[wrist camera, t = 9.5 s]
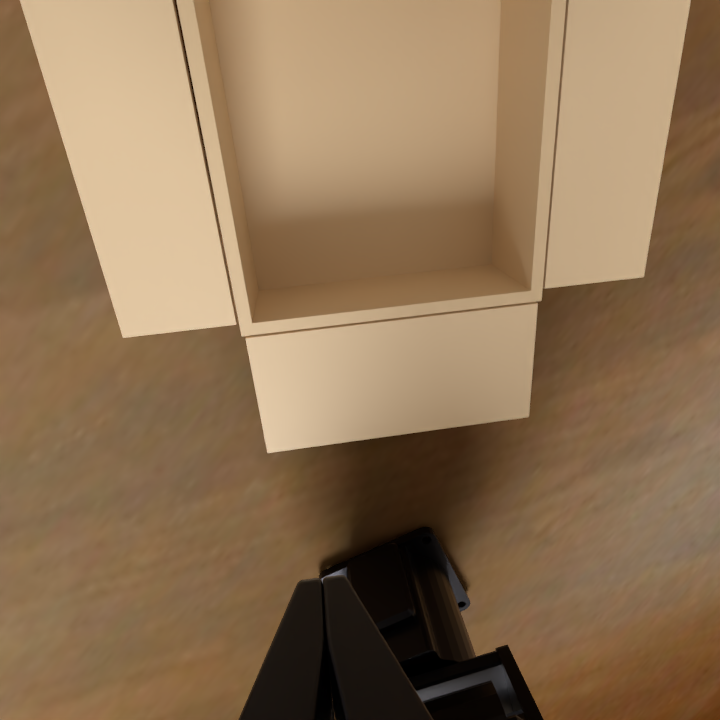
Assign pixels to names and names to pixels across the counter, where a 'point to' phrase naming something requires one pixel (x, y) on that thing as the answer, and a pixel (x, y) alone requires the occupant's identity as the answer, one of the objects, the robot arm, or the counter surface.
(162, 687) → the counter surface
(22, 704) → the counter surface
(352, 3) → the carton
